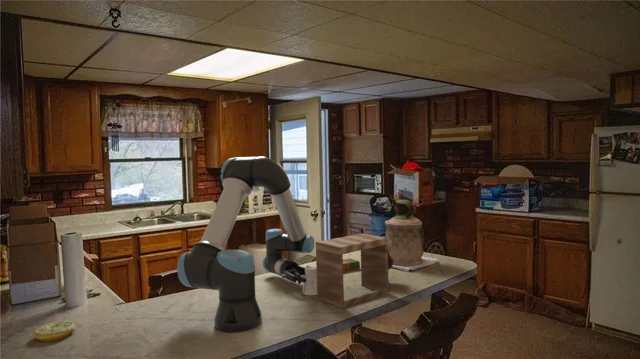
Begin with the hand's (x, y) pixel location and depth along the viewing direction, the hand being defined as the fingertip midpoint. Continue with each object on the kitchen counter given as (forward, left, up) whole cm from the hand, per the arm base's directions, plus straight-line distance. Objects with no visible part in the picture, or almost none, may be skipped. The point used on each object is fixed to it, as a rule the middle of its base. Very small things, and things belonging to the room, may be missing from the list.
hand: (320, 279), depth 167 cm
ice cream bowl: (+29, -4, -6) cm, 30 cm away
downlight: (0, +5, -6) cm, 8 cm away
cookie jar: (+60, +11, -6) cm, 61 cm away
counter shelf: (+9, -9, -6) cm, 14 cm away
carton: (+30, +23, -7) cm, 38 cm away
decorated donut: (-85, +26, -6) cm, 89 cm away
